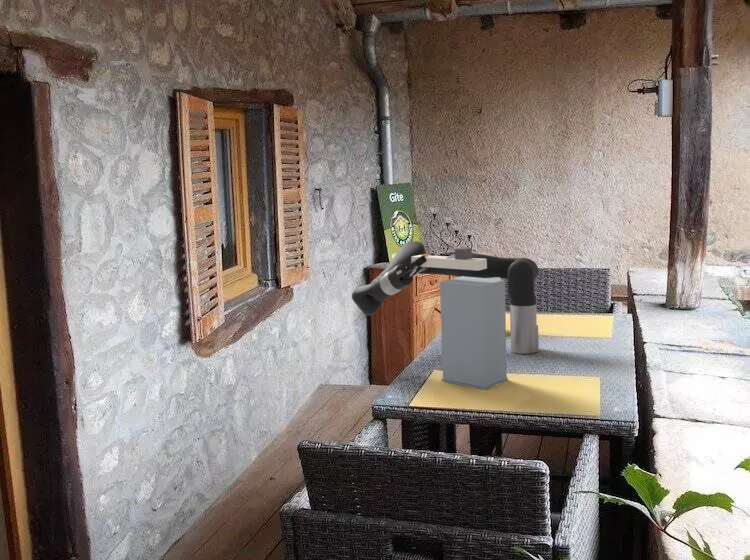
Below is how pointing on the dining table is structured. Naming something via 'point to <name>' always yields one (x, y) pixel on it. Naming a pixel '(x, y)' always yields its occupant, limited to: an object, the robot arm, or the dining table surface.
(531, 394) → the dining table surface
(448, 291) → the post
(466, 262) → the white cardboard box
